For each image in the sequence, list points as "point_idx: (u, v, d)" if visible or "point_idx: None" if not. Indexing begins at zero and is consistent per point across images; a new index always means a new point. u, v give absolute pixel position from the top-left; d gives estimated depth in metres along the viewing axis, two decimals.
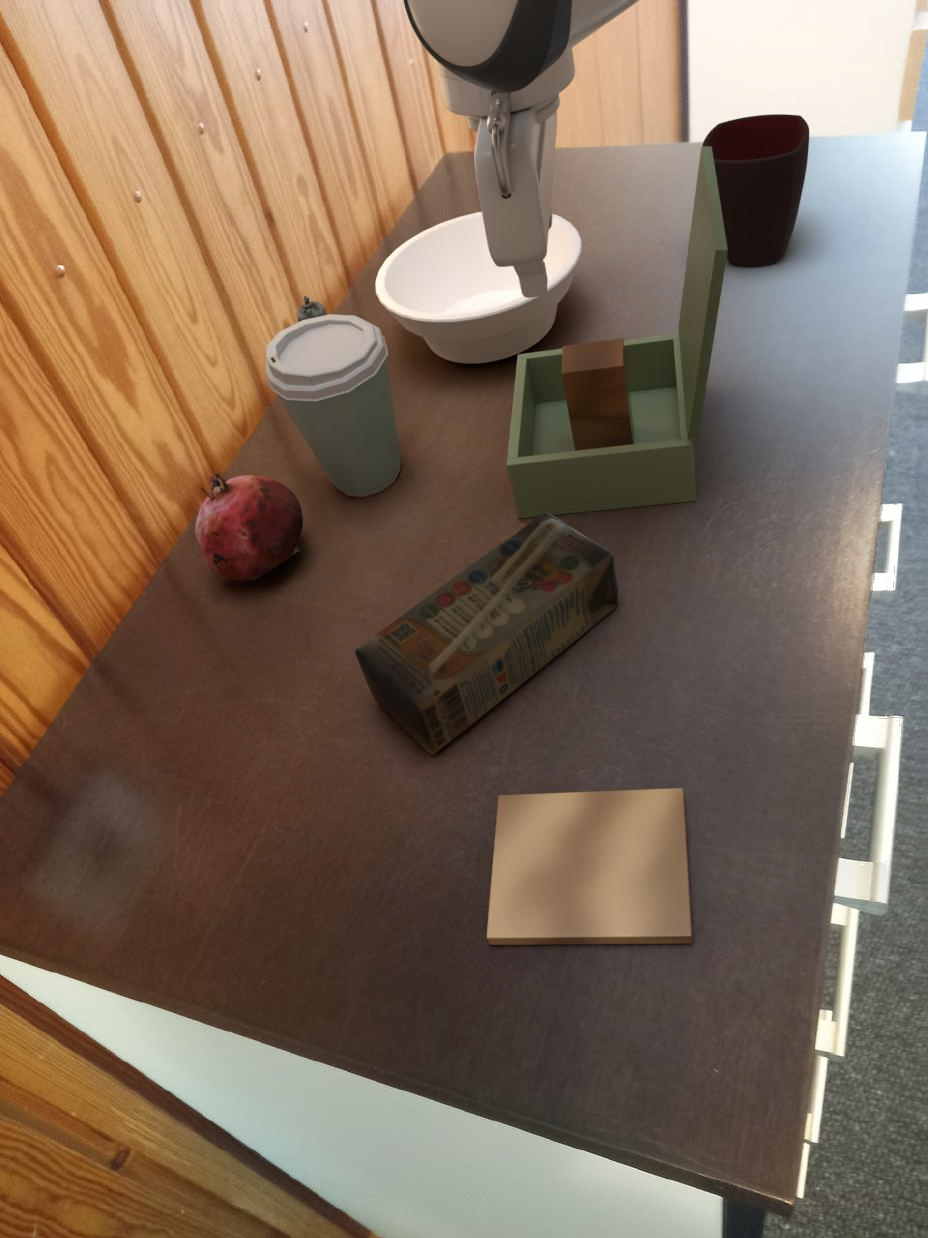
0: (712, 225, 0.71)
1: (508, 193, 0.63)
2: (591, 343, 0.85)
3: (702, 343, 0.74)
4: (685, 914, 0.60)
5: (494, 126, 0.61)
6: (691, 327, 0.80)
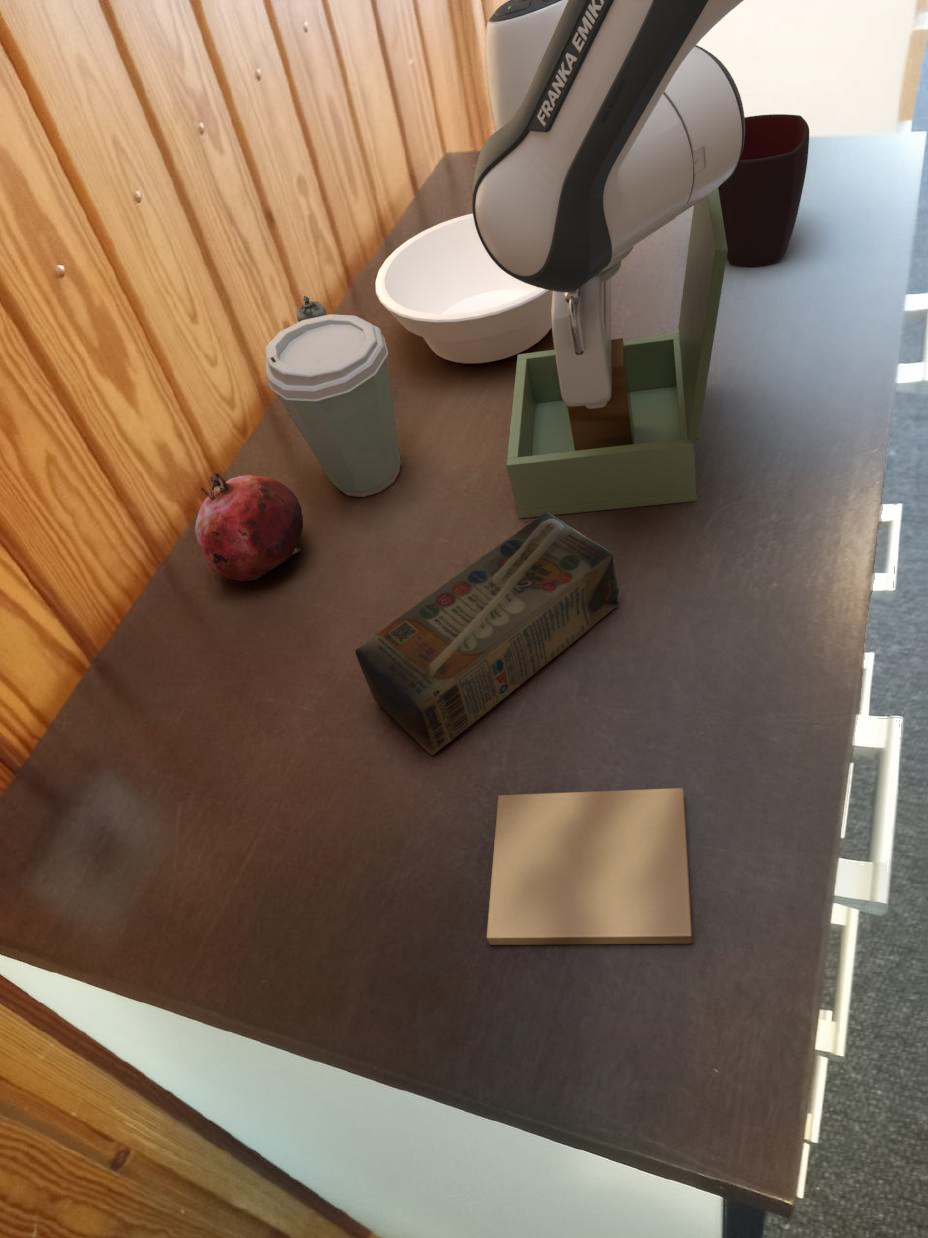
0: (712, 225, 0.71)
1: (581, 351, 0.73)
2: None
3: (702, 343, 0.74)
4: (685, 914, 0.60)
5: (571, 298, 0.71)
6: (691, 327, 0.80)
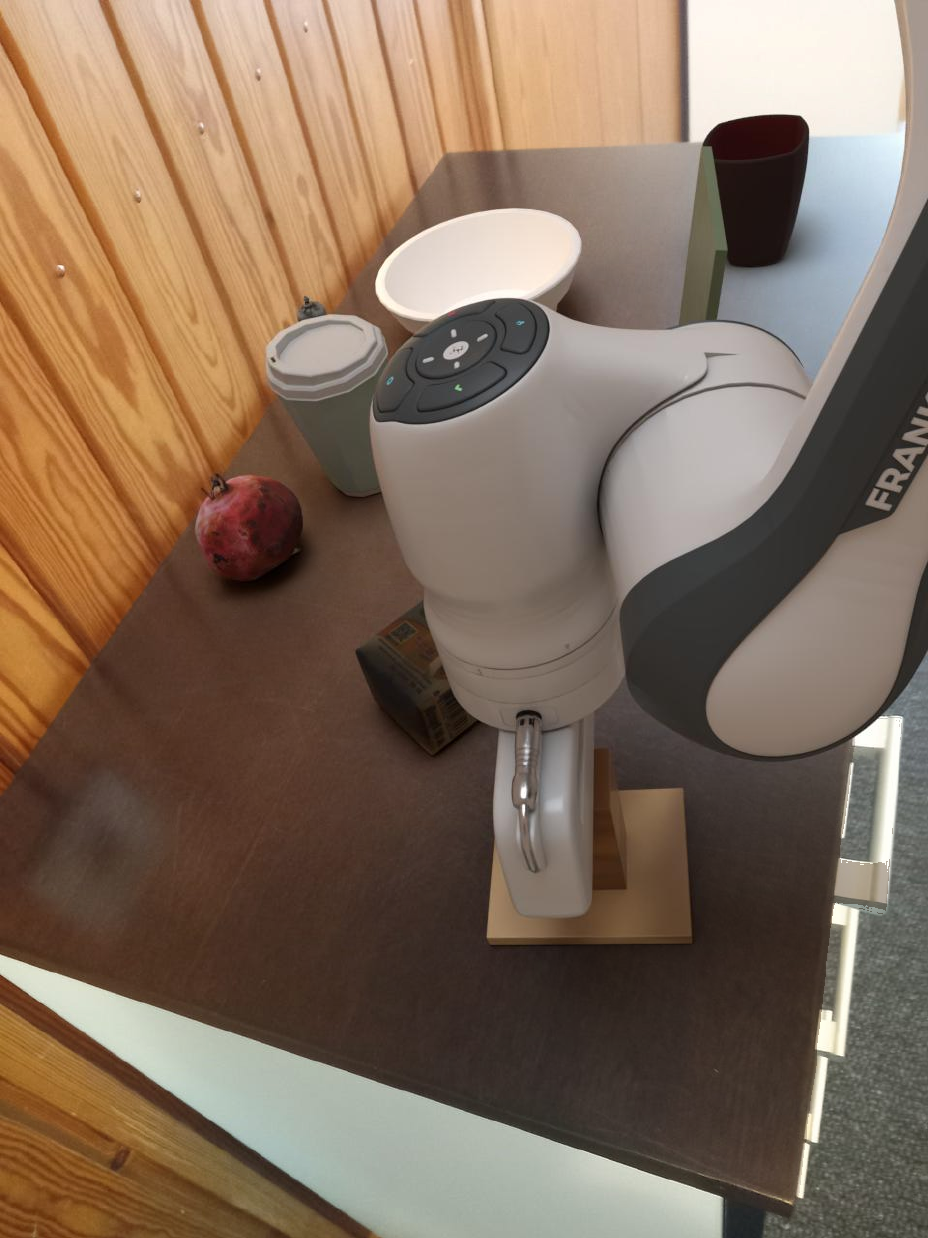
0: (712, 225, 0.71)
1: (541, 870, 0.45)
2: None
3: None
4: (685, 914, 0.60)
5: (522, 807, 0.43)
6: None
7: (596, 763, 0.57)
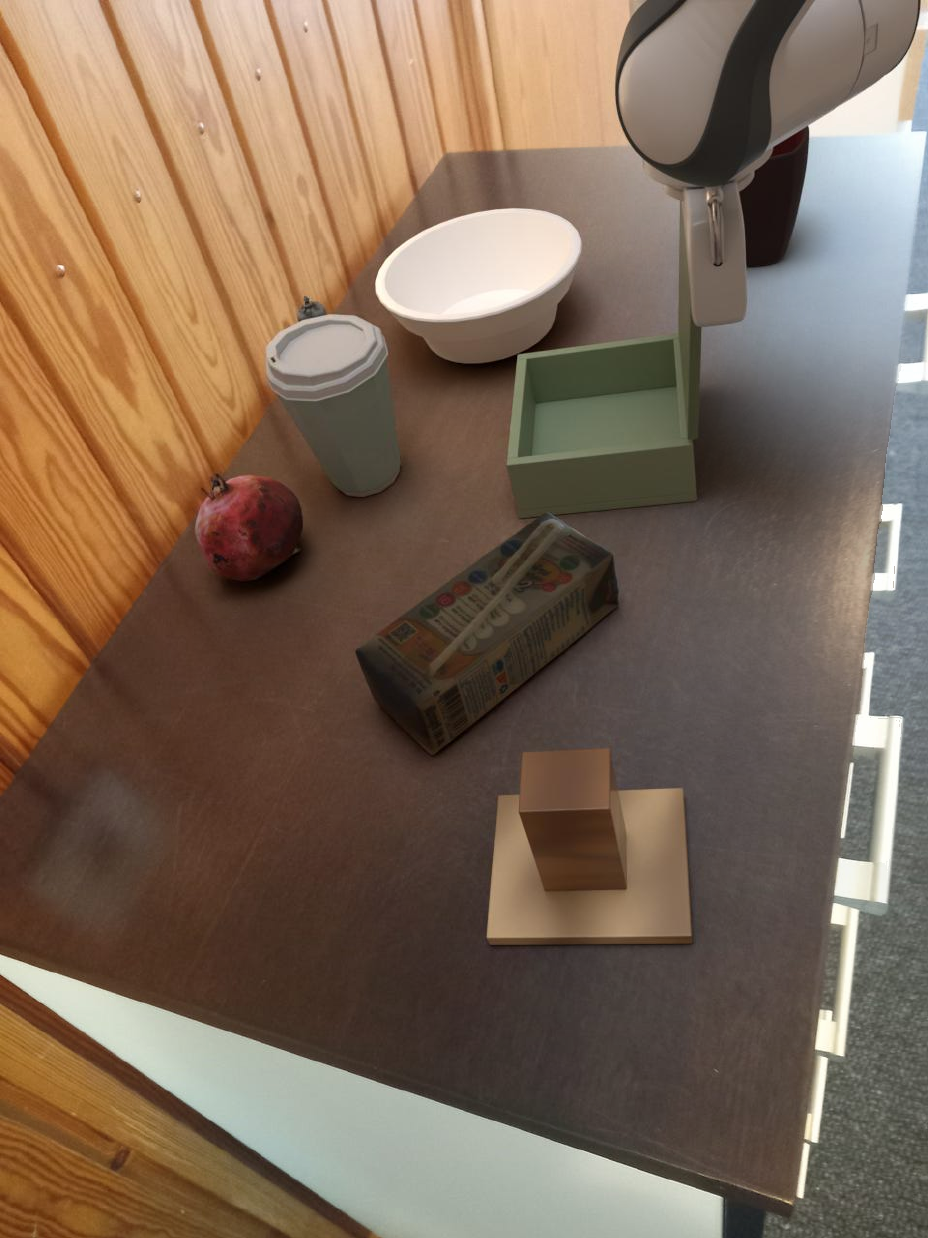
0: None
1: (721, 262, 0.67)
2: (563, 753, 0.58)
3: (690, 344, 0.74)
4: (685, 914, 0.60)
5: (714, 201, 0.65)
6: (684, 328, 0.80)
7: (596, 763, 0.57)
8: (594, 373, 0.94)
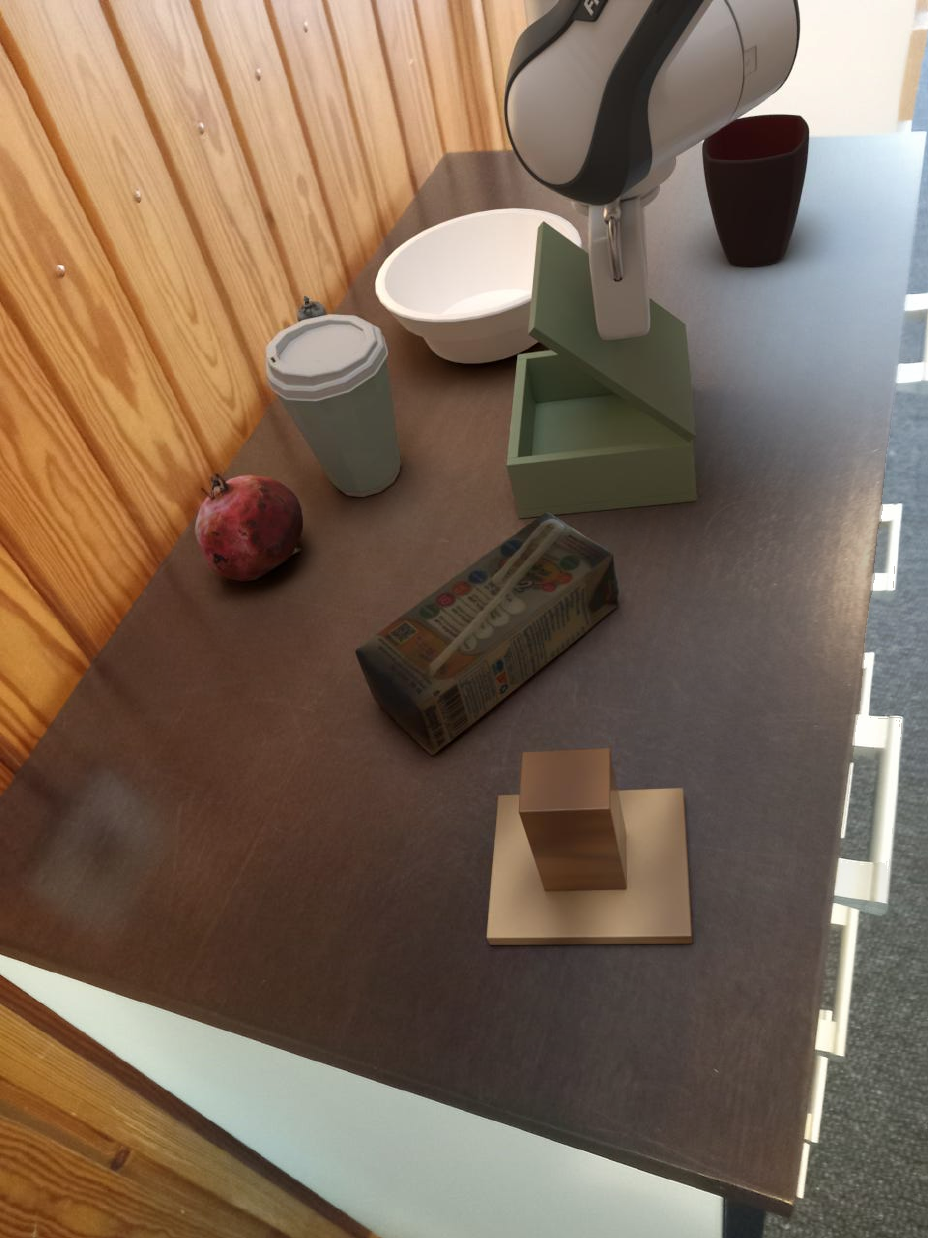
0: (531, 308, 0.77)
1: (620, 277, 0.68)
2: (563, 753, 0.58)
3: (604, 385, 0.77)
4: (685, 914, 0.60)
5: (611, 218, 0.66)
6: None
7: (596, 763, 0.57)
8: None
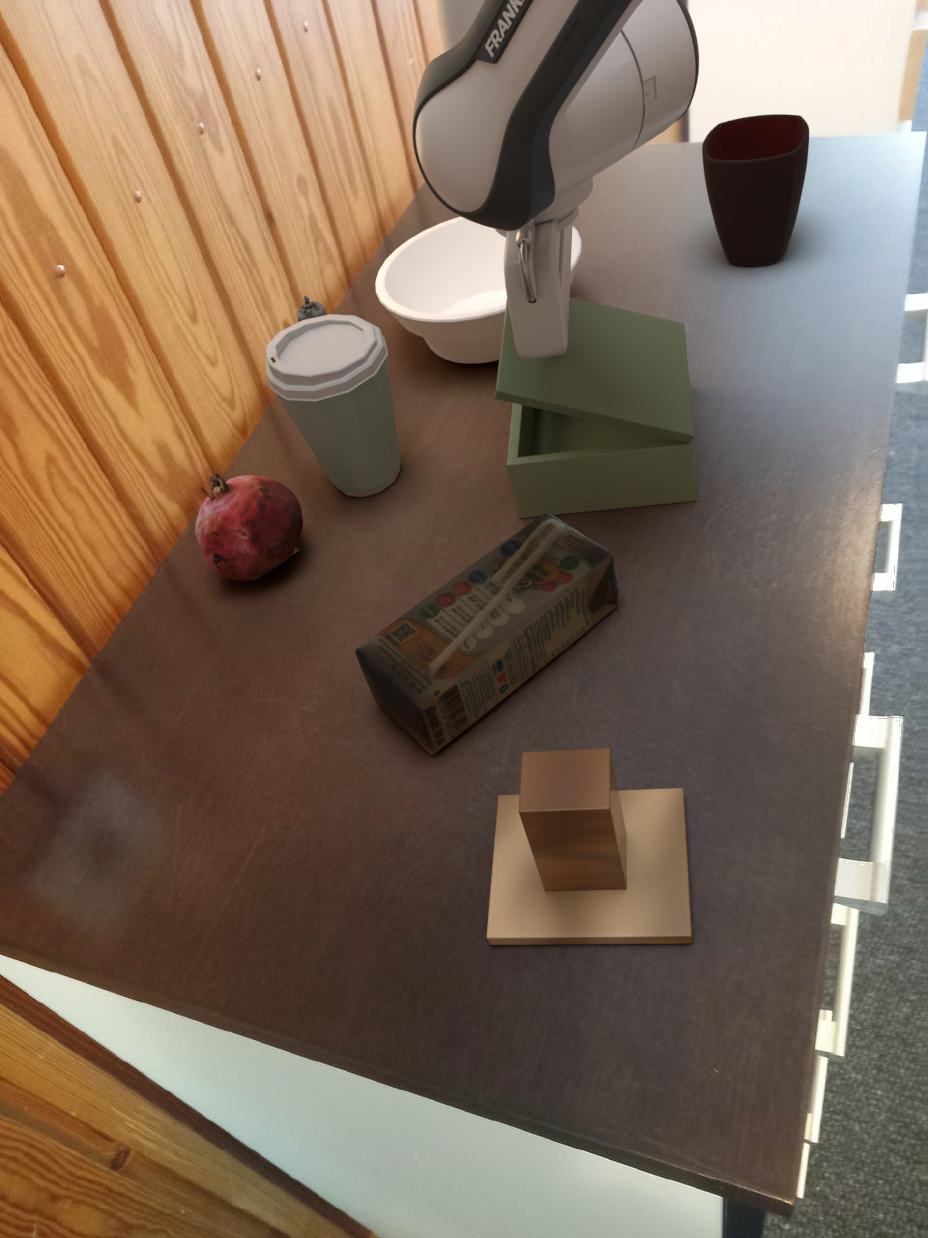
0: None
1: (534, 299, 0.70)
2: (563, 753, 0.58)
3: (585, 418, 0.79)
4: (685, 914, 0.60)
5: (522, 242, 0.68)
6: None
7: (596, 763, 0.57)
8: None
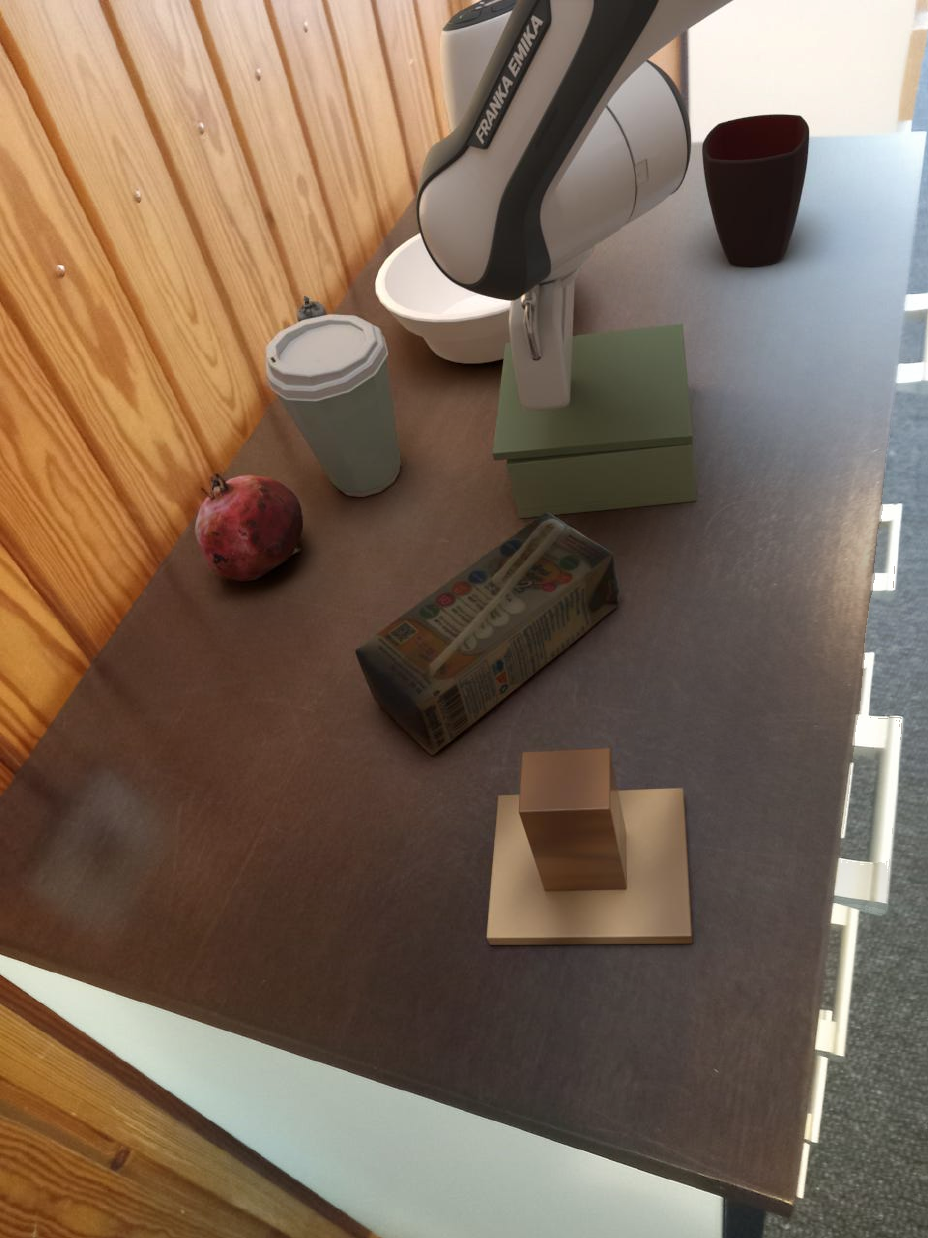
0: None
1: (538, 357, 0.73)
2: (563, 753, 0.58)
3: (583, 452, 0.82)
4: (685, 914, 0.60)
5: (527, 304, 0.71)
6: None
7: (596, 763, 0.57)
8: None
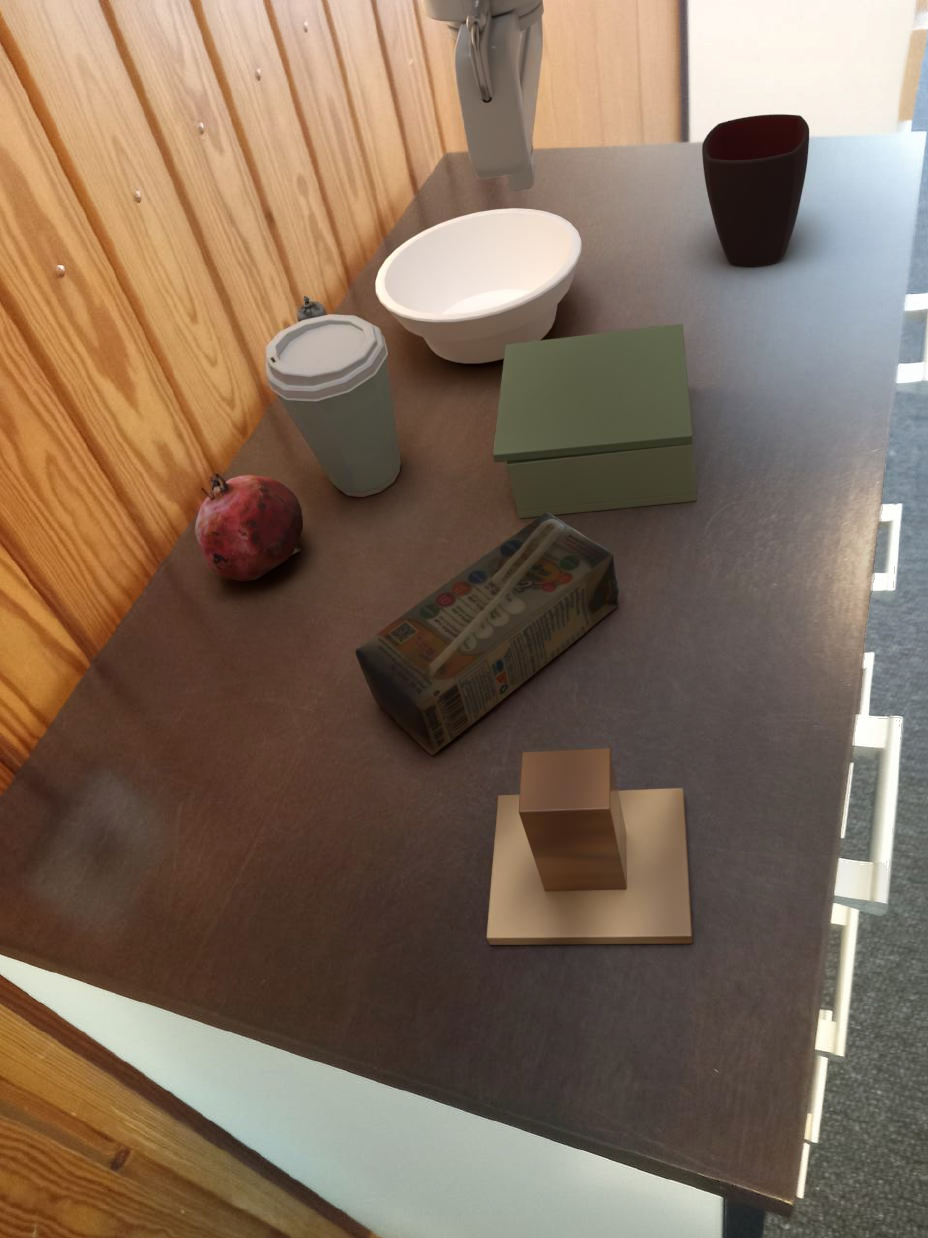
0: None
1: (489, 96, 0.60)
2: (563, 753, 0.58)
3: (583, 453, 0.82)
4: (685, 914, 0.60)
5: (474, 23, 0.58)
6: None
7: (596, 763, 0.57)
8: None
